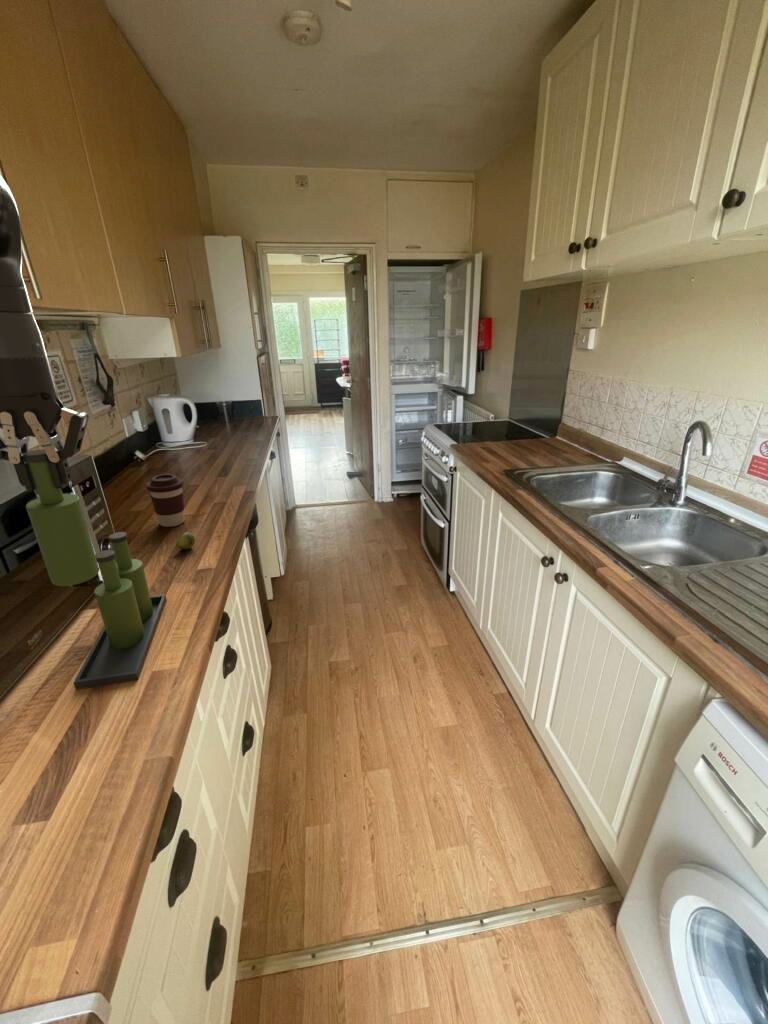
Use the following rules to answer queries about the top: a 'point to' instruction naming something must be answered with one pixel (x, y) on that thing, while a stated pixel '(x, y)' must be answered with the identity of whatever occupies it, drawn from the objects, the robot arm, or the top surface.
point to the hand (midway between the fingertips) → (48, 486)
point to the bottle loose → (59, 527)
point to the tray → (119, 655)
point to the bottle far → (132, 573)
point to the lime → (186, 541)
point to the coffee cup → (167, 499)
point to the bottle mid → (117, 604)
